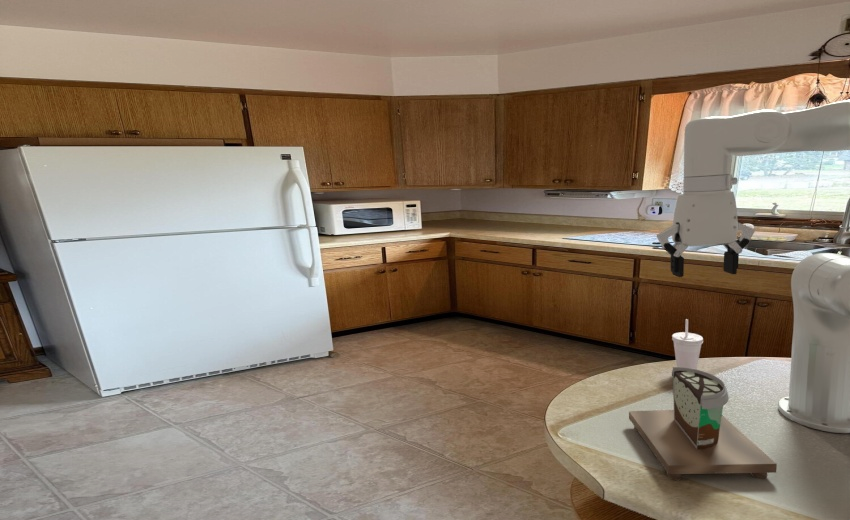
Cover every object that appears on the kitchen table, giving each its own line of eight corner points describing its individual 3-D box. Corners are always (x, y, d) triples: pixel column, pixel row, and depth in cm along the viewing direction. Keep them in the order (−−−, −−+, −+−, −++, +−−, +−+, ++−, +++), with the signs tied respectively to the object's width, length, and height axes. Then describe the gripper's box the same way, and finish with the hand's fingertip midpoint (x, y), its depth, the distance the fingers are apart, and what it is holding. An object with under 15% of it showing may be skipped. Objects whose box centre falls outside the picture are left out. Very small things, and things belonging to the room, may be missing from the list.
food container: (742, 455, 71) (745, 397, 70) (701, 454, 72) (702, 397, 71) (705, 415, 83) (707, 365, 82) (670, 415, 84) (671, 365, 83)
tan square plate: (714, 423, 86) (715, 408, 85) (775, 481, 69) (776, 463, 69) (628, 425, 87) (628, 411, 87) (668, 482, 71) (668, 465, 70)
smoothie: (666, 375, 107) (667, 320, 104) (676, 367, 111) (677, 313, 109) (696, 383, 102) (698, 325, 100) (706, 374, 106) (707, 317, 104)
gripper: (742, 182, 87) (738, 268, 89) (650, 188, 88) (649, 273, 91) (768, 182, 79) (763, 275, 82) (667, 189, 81) (666, 281, 84)
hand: (703, 274), depth 87 cm, fingers open, 9 cm apart
